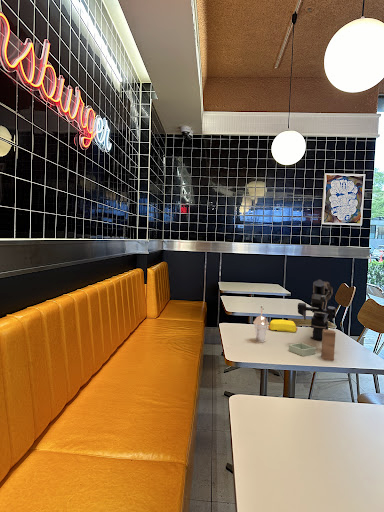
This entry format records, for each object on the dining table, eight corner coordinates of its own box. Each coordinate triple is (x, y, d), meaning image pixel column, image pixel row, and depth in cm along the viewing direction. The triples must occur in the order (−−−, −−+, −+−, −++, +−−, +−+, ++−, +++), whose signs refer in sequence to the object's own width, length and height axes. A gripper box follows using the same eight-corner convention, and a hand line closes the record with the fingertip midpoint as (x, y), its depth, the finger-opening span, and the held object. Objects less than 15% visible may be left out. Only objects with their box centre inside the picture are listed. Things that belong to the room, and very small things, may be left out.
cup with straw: (270, 341, 187) (273, 305, 187) (262, 344, 181) (264, 307, 180) (257, 337, 193) (259, 302, 192) (248, 340, 186) (250, 304, 186)
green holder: (301, 348, 177) (301, 342, 177) (315, 353, 169) (316, 347, 169) (288, 350, 172) (288, 344, 172) (303, 356, 165) (303, 350, 164)
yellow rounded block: (298, 333, 208) (296, 330, 216) (299, 322, 208) (296, 319, 215) (268, 331, 210) (267, 328, 218) (269, 320, 210) (267, 317, 217)
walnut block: (321, 355, 167) (322, 329, 167) (332, 356, 166) (333, 330, 165) (322, 358, 162) (324, 331, 162) (333, 360, 161) (335, 332, 161)
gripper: (299, 287, 185) (294, 306, 173) (337, 291, 176) (334, 311, 165) (300, 303, 190) (295, 322, 179) (336, 308, 182) (333, 328, 170)
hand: (314, 321), depth 173 cm, fingers open, 9 cm apart
